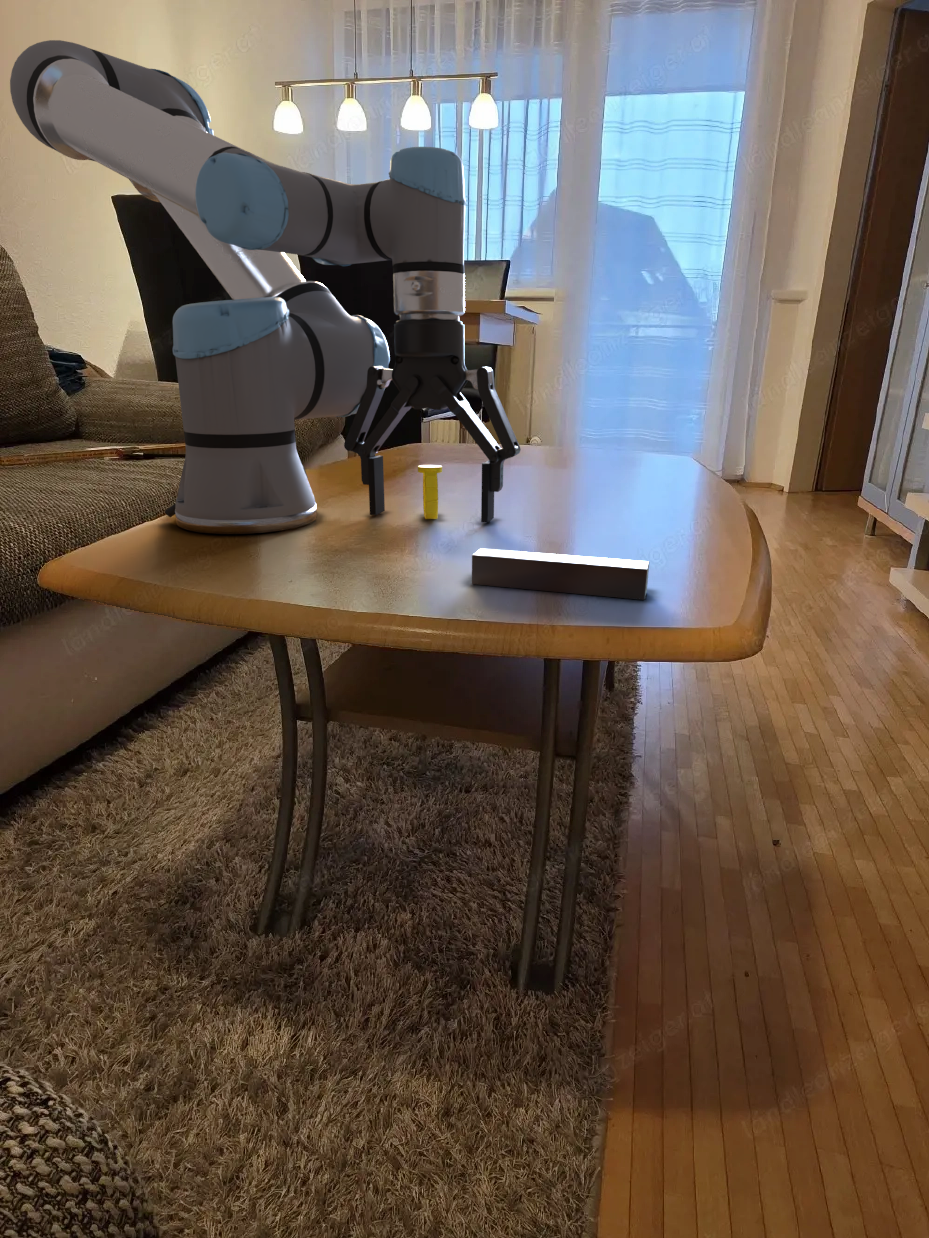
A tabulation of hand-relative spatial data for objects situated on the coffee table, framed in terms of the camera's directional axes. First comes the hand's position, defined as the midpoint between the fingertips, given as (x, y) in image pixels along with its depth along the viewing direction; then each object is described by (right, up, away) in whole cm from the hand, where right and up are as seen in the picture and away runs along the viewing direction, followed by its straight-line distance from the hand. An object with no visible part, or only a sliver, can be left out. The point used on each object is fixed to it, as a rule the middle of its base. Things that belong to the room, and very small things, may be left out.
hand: (431, 516), depth 87 cm
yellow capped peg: (0, 0, 0) cm, 0 cm away
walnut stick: (+12, -9, -26) cm, 30 cm away
